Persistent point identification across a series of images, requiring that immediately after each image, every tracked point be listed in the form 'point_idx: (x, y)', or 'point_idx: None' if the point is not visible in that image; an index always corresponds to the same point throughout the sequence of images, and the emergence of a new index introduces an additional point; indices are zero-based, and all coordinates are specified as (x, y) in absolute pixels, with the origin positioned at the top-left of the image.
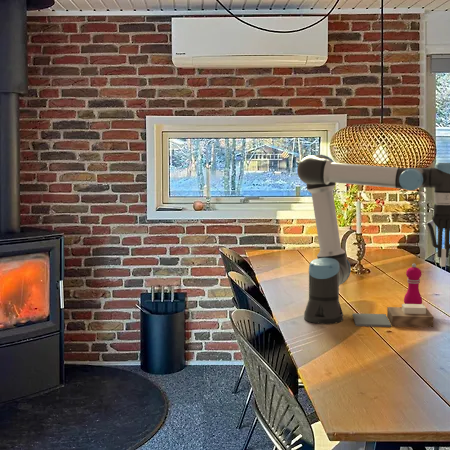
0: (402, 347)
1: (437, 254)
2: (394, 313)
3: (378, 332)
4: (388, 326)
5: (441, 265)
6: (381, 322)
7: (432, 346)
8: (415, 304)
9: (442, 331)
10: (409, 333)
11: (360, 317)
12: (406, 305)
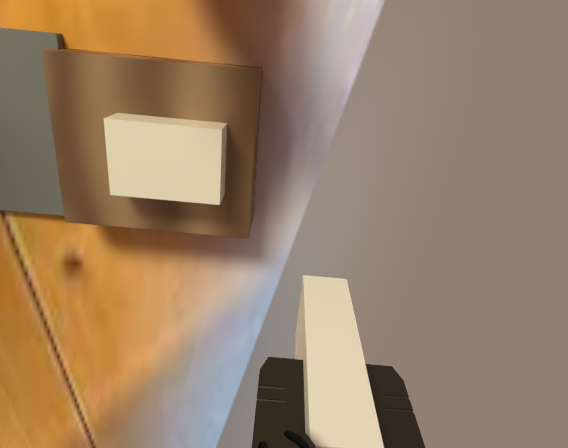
0: (108, 402)
1: (258, 390)
2: (76, 181)
3: (34, 276)
4: None
5: (296, 345)
6: (38, 183)
7: (196, 396)
8: (177, 134)
9: (272, 266)
10: (146, 287)
11: None
12: (125, 156)
